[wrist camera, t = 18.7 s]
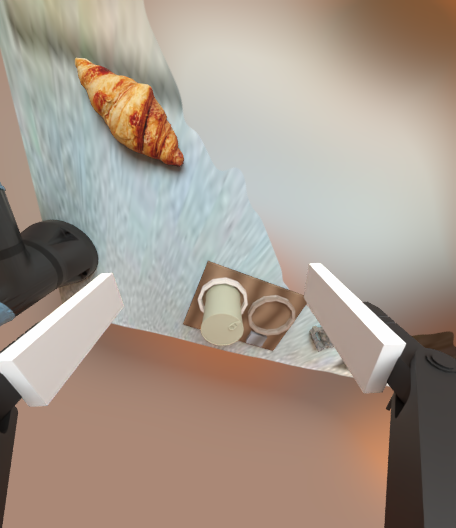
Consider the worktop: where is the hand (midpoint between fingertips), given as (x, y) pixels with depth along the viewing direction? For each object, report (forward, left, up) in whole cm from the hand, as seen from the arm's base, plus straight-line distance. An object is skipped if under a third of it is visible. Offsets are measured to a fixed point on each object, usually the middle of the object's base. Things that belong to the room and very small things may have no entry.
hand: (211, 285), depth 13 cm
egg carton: (+30, -37, -32) cm, 57 cm away
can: (-1, -23, -31) cm, 38 cm away
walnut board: (+5, -28, -32) cm, 42 cm away
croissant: (-14, +17, -32) cm, 39 cm away
